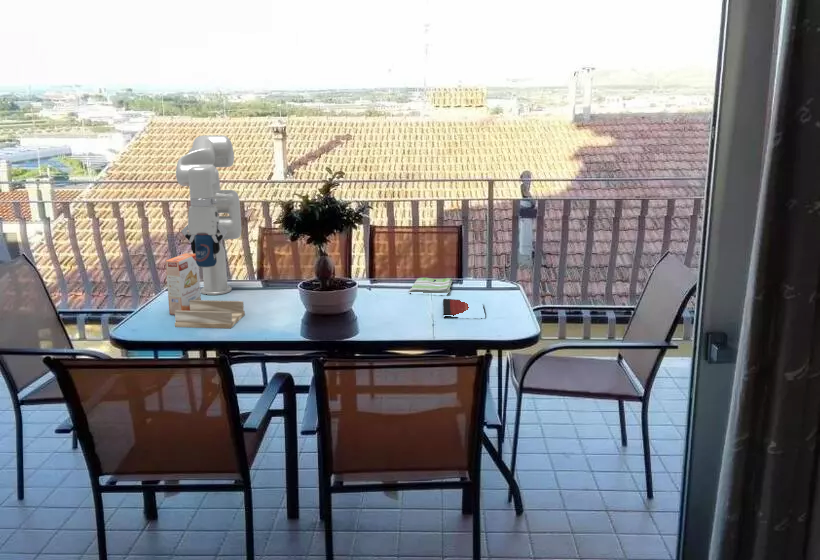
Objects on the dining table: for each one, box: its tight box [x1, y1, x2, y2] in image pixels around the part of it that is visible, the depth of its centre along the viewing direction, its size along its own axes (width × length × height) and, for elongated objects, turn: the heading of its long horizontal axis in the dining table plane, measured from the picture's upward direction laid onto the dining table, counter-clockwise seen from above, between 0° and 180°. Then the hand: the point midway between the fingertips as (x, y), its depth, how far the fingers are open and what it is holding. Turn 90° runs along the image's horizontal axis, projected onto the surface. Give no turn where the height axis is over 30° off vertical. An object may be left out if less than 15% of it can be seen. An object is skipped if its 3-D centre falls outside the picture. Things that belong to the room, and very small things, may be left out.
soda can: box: [194, 234, 217, 269], centre depth 229 cm, size 7×7×12 cm
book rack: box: [174, 299, 246, 329], centre depth 235 cm, size 16×20×6 cm
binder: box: [442, 298, 469, 316], centre depth 250 cm, size 16×2×21 cm
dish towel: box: [408, 277, 454, 294], centre depth 281 cm, size 17×23×4 cm
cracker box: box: [165, 252, 202, 316], centre depth 246 cm, size 14×6×21 cm, turn 168°
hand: (205, 252), depth 230 cm, fingers closed on soda can, 7 cm apart
